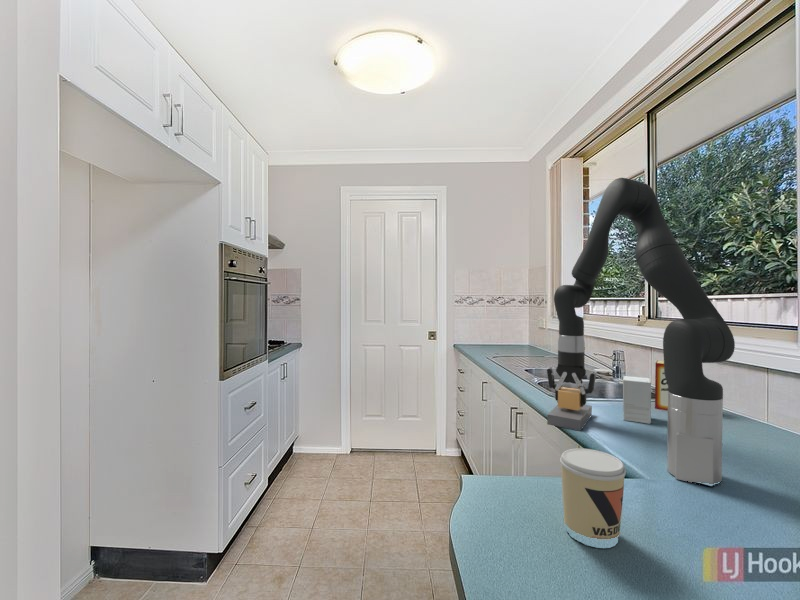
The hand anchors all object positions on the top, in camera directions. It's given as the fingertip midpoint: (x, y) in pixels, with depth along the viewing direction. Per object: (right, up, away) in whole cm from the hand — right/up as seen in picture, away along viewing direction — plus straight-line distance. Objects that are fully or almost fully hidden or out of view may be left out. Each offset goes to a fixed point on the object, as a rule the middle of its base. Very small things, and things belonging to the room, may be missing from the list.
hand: (570, 403), depth 118 cm
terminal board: (0, -5, 0) cm, 5 cm away
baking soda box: (+40, -5, +12) cm, 42 cm away
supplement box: (+21, -5, +1) cm, 22 cm away
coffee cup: (-22, -6, -57) cm, 61 cm away
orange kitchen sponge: (0, -1, 0) cm, 1 cm away
